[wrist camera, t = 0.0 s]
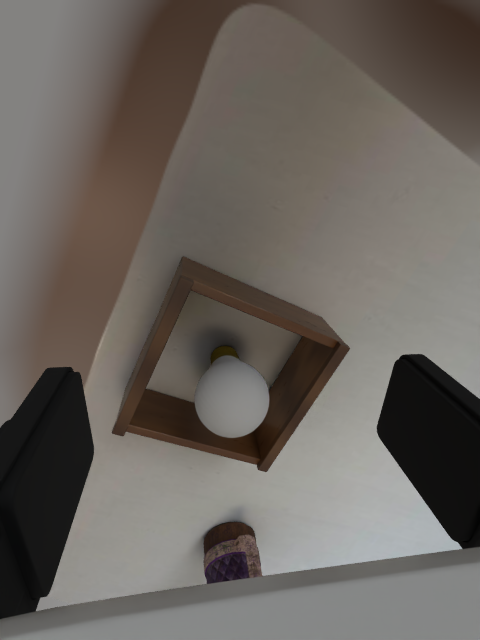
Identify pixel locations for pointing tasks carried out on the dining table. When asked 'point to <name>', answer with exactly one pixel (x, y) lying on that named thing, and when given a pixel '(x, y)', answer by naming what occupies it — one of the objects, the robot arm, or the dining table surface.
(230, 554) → the mug
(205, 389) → the light bulb
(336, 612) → the robot arm
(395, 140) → the dining table surface
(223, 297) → the brown wooden square frame
